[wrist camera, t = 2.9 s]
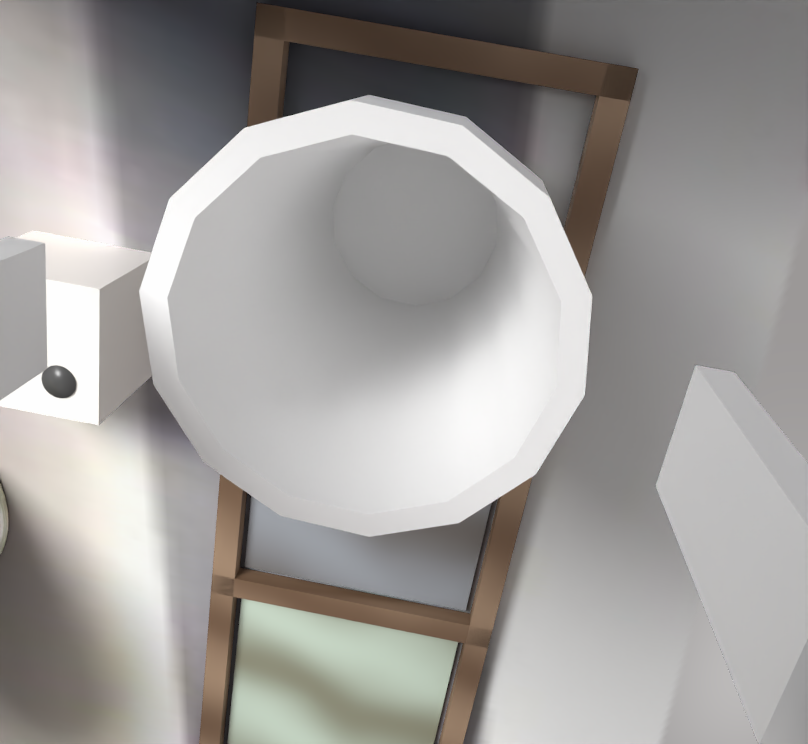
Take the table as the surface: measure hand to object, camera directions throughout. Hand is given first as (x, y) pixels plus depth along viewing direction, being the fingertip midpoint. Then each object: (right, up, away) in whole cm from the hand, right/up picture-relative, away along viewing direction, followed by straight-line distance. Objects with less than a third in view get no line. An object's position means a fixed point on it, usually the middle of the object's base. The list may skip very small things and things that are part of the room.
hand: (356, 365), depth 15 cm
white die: (-11, +3, +15) cm, 19 cm away
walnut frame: (0, -5, +17) cm, 18 cm away
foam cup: (+1, +5, +13) cm, 14 cm away
